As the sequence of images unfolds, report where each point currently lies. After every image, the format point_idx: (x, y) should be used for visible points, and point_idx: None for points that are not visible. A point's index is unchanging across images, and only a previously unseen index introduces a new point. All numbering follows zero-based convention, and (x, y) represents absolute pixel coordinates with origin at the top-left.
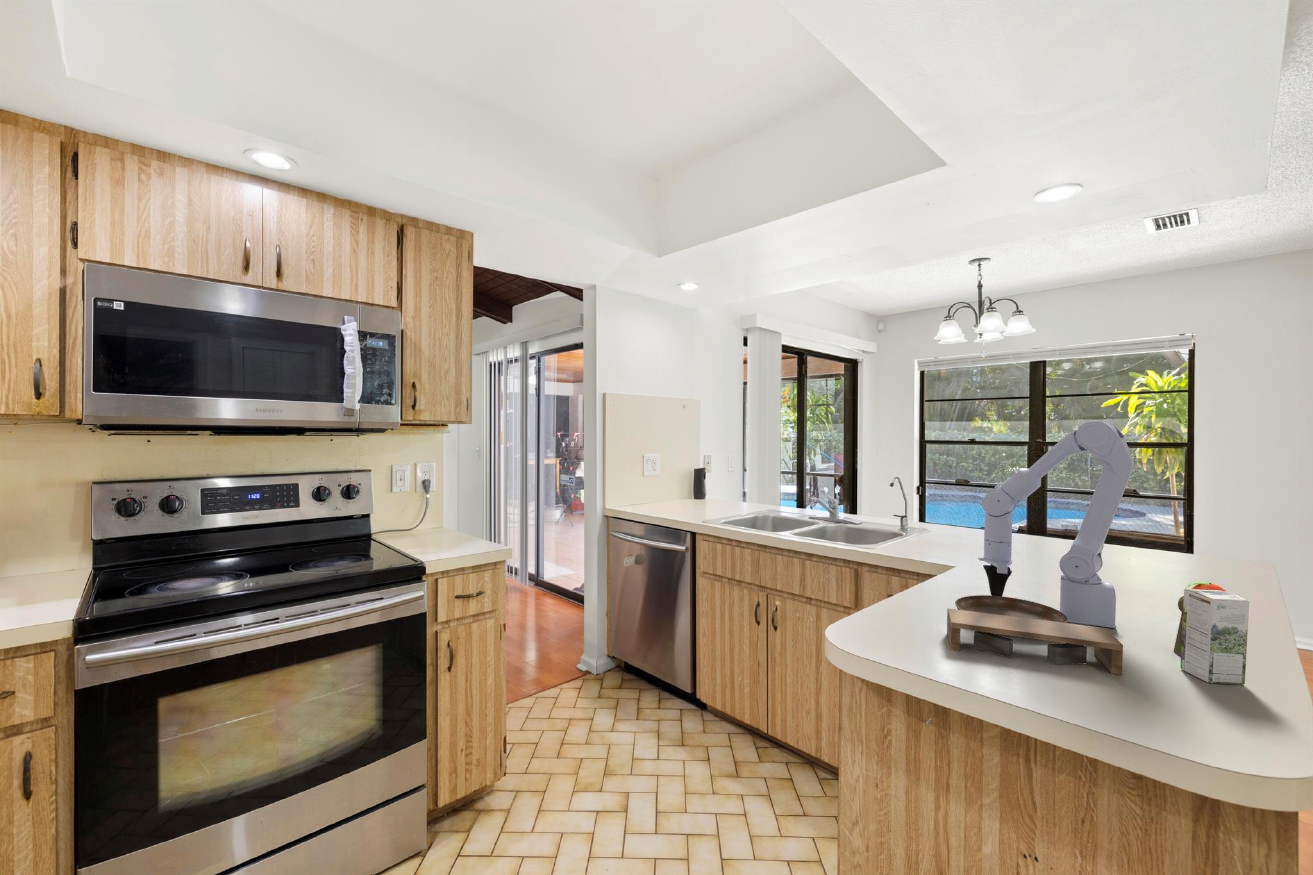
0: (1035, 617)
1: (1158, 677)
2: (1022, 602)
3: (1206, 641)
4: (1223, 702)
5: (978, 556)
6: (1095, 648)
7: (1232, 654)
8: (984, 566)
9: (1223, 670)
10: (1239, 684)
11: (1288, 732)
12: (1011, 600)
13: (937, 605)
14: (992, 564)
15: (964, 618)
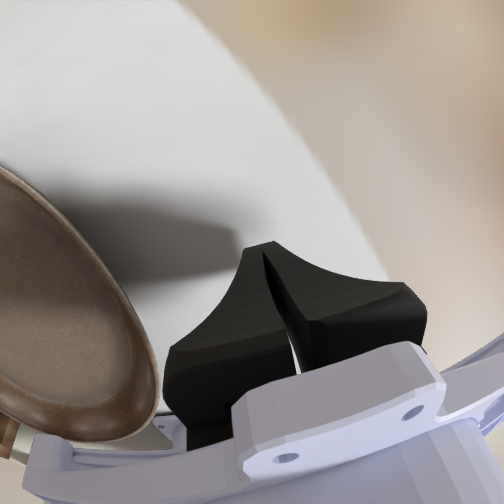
0: (108, 379)
1: (17, 441)
2: (152, 378)
3: (45, 501)
4: (17, 454)
5: (418, 396)
6: (4, 423)
7: None
8: (266, 354)
9: None
10: None
11: (9, 458)
12: (145, 348)
13: (4, 53)
14: (86, 474)
15: None
